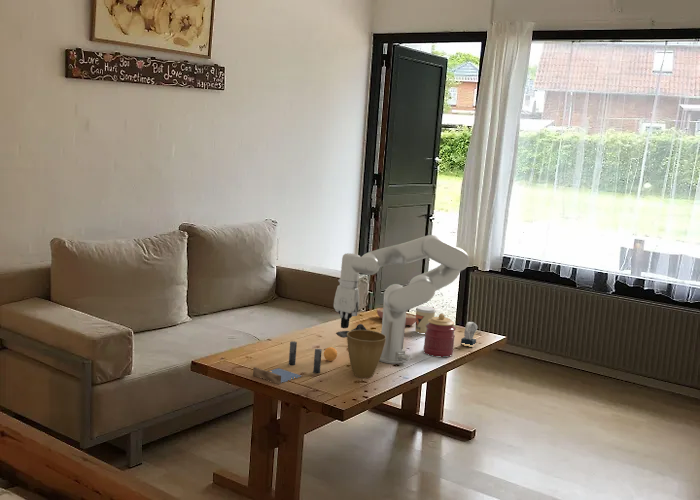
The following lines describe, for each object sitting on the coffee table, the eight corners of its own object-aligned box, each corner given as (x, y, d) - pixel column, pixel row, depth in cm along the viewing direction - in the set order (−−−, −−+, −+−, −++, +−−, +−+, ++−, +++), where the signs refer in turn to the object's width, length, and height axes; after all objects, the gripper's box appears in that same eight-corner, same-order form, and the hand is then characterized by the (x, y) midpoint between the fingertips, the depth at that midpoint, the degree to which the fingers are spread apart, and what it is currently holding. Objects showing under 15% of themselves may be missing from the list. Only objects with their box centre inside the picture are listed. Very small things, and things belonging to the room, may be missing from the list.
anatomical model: (419, 326, 377) (420, 316, 377) (408, 329, 370) (408, 319, 369) (383, 316, 392) (384, 306, 391) (371, 318, 384) (372, 309, 384)
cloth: (329, 336, 348) (330, 323, 347) (351, 329, 363) (352, 316, 362) (371, 346, 336) (372, 333, 335) (392, 339, 352) (393, 326, 351)
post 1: (296, 364, 299) (298, 342, 298) (292, 365, 297) (293, 343, 296) (291, 363, 301) (293, 340, 299) (287, 364, 299) (288, 342, 297)
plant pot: (335, 373, 292) (338, 332, 290) (362, 367, 303) (366, 328, 300) (363, 384, 282) (366, 342, 280) (390, 377, 292) (394, 337, 290)
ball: (339, 360, 308) (340, 347, 308) (331, 363, 304) (332, 350, 303) (328, 357, 312) (329, 344, 311) (320, 360, 307) (321, 347, 306)
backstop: (280, 383, 275) (281, 375, 275) (278, 384, 274) (279, 376, 274) (254, 374, 283) (255, 367, 282) (252, 375, 282) (253, 367, 281)
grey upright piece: (477, 345, 350) (479, 321, 348) (470, 348, 343) (473, 324, 341) (465, 342, 352) (468, 319, 351) (459, 346, 345) (461, 322, 344)
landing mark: (302, 376, 285) (302, 375, 285) (280, 383, 276) (280, 382, 276) (278, 368, 292) (278, 368, 292) (256, 374, 283) (256, 374, 283)
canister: (437, 359, 322) (441, 318, 320) (416, 350, 332) (420, 311, 330) (459, 355, 330) (463, 316, 327) (438, 347, 340) (442, 309, 337)
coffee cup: (410, 330, 367) (413, 305, 366) (428, 330, 370) (430, 306, 369) (418, 335, 359) (420, 310, 357) (436, 335, 362) (438, 310, 360)
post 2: (321, 372, 292) (323, 349, 290) (317, 373, 290) (318, 351, 288) (316, 370, 293) (317, 348, 292) (311, 372, 291) (313, 349, 290)
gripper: (328, 281, 312) (324, 324, 315) (358, 288, 303) (353, 333, 306) (340, 279, 318) (335, 322, 320) (369, 286, 309) (364, 330, 312)
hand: (344, 327), depth 313 cm, fingers closed
